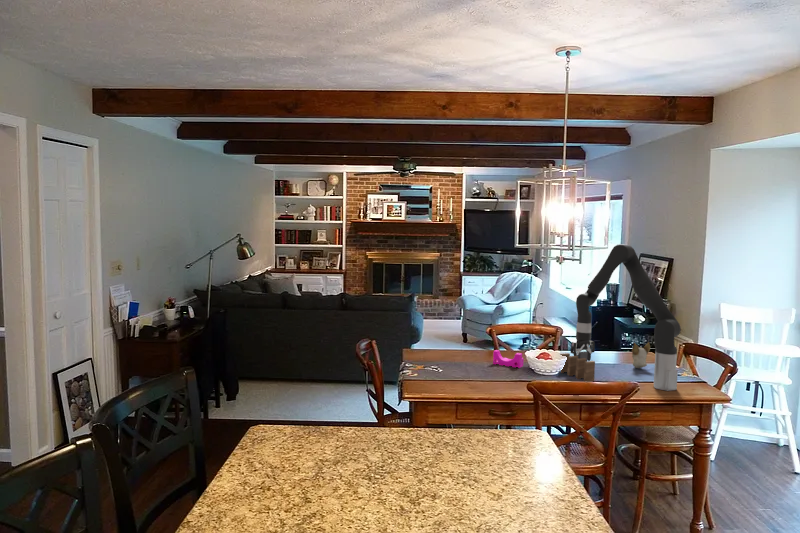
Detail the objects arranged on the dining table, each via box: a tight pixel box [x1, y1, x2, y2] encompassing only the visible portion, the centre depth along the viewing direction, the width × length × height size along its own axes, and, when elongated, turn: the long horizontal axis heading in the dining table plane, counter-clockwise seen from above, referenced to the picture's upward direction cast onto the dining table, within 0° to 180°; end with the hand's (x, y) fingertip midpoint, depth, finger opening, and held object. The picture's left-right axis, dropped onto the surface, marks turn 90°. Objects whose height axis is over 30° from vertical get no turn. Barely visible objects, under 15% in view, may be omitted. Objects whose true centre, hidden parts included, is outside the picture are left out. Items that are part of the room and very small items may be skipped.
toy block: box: [492, 349, 524, 369], centre depth 309 cm, size 15×6×8 cm, turn 59°
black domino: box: [578, 350, 588, 361], centre depth 301 cm, size 2×5×10 cm, turn 115°
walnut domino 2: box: [566, 355, 578, 377], centre depth 290 cm, size 2×5×10 cm, turn 115°
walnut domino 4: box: [583, 360, 596, 382], centre depth 279 cm, size 2×5×10 cm, turn 114°
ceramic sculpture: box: [631, 341, 651, 369], centre depth 307 cm, size 11×9×15 cm
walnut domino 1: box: [559, 352, 571, 374], centre depth 296 cm, size 2×5×10 cm, turn 115°
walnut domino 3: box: [575, 358, 586, 380], centre depth 285 cm, size 2×5×10 cm, turn 115°
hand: (582, 361), depth 301 cm, fingers open, 8 cm apart
